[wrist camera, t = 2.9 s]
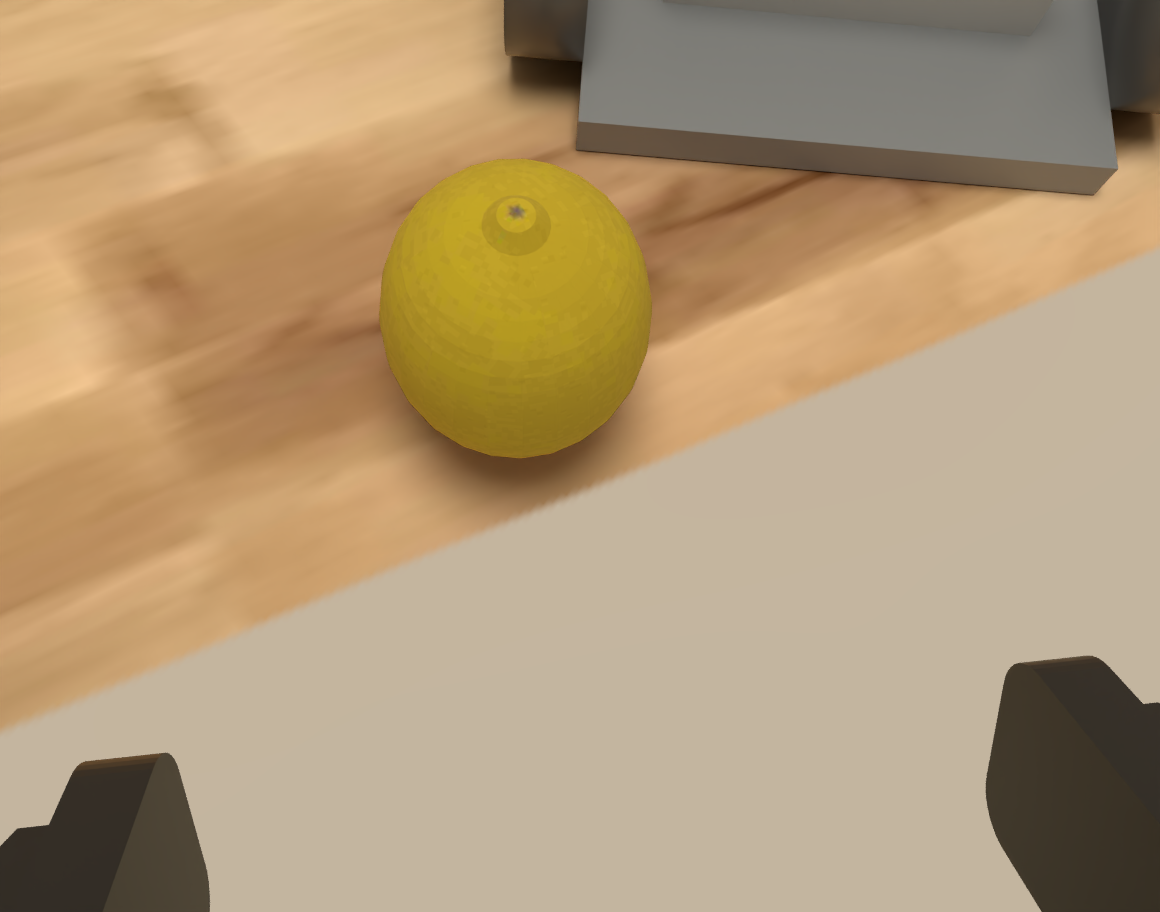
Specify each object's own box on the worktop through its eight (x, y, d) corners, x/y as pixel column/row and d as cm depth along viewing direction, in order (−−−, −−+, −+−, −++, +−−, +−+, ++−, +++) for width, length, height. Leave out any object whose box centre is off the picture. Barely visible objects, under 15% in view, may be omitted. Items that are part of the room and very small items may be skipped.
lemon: (673, 371, 25) (739, 188, 18) (539, 546, 24) (549, 426, 16) (495, 250, 26) (486, 25, 19) (354, 411, 25) (281, 237, 17)
